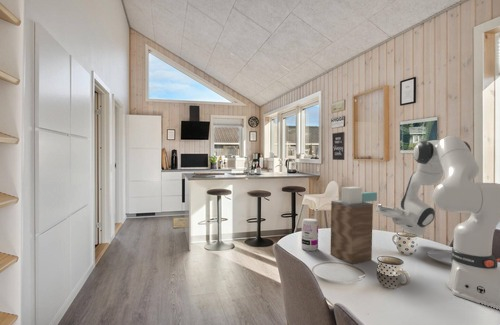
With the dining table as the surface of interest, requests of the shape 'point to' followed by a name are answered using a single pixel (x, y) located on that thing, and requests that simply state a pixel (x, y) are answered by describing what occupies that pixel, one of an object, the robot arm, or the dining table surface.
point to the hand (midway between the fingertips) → (386, 206)
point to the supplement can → (310, 234)
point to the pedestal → (351, 231)
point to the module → (356, 195)
